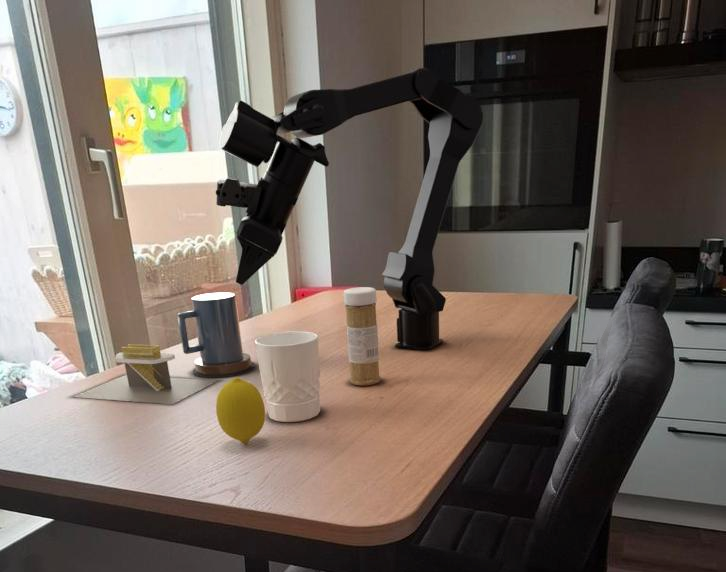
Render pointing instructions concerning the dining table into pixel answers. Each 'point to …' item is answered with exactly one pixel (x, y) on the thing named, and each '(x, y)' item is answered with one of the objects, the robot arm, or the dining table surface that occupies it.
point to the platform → (146, 379)
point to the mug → (215, 335)
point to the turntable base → (224, 375)
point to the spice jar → (362, 335)
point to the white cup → (290, 374)
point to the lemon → (240, 410)
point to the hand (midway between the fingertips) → (242, 276)
